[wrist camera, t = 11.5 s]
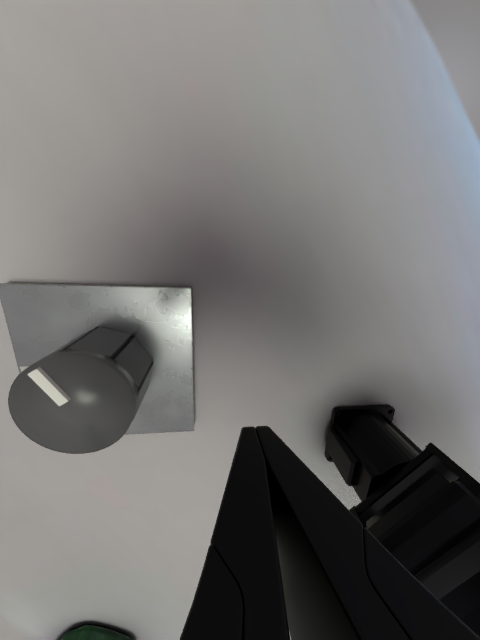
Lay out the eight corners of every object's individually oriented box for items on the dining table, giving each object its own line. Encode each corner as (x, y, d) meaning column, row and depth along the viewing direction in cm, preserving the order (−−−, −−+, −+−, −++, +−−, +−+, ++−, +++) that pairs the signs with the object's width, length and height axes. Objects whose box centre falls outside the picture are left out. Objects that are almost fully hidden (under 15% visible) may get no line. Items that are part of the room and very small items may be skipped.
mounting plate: (192, 286, 18) (184, 298, 13) (194, 423, 22) (189, 469, 17) (9, 282, 16) (-72, 293, 12) (45, 430, 20) (-7, 484, 15)
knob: (169, 378, 19) (154, 423, 14) (101, 416, 19) (62, 474, 14) (119, 312, 17) (81, 337, 12) (43, 354, 17) (-26, 396, 12)
